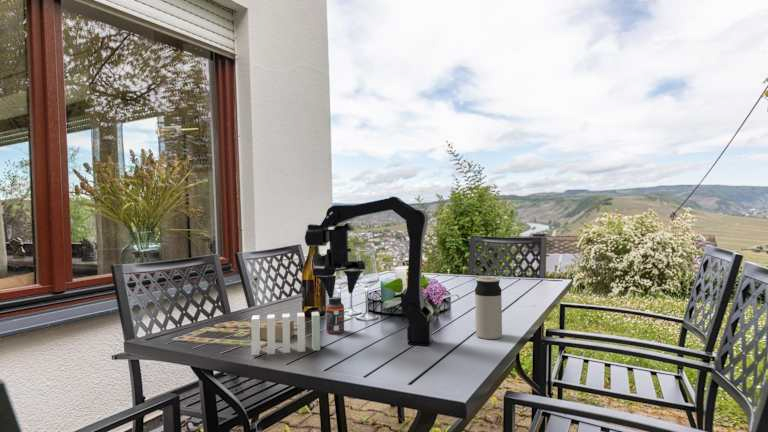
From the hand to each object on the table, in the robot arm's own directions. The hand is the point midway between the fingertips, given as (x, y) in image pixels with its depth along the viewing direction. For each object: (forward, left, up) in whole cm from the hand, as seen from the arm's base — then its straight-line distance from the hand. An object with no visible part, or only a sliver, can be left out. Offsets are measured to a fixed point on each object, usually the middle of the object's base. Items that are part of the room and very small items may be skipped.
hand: (340, 295), depth 139 cm
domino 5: (+3, +11, -13) cm, 18 cm away
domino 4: (+7, +13, -13) cm, 20 cm away
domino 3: (+10, +16, -13) cm, 23 cm away
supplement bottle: (+5, -7, -14) cm, 16 cm away
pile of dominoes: (+34, +2, -14) cm, 37 cm away
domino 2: (+14, +18, -13) cm, 26 cm away
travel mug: (-44, -14, -14) cm, 48 cm away
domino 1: (+18, +20, -13) cm, 30 cm away
